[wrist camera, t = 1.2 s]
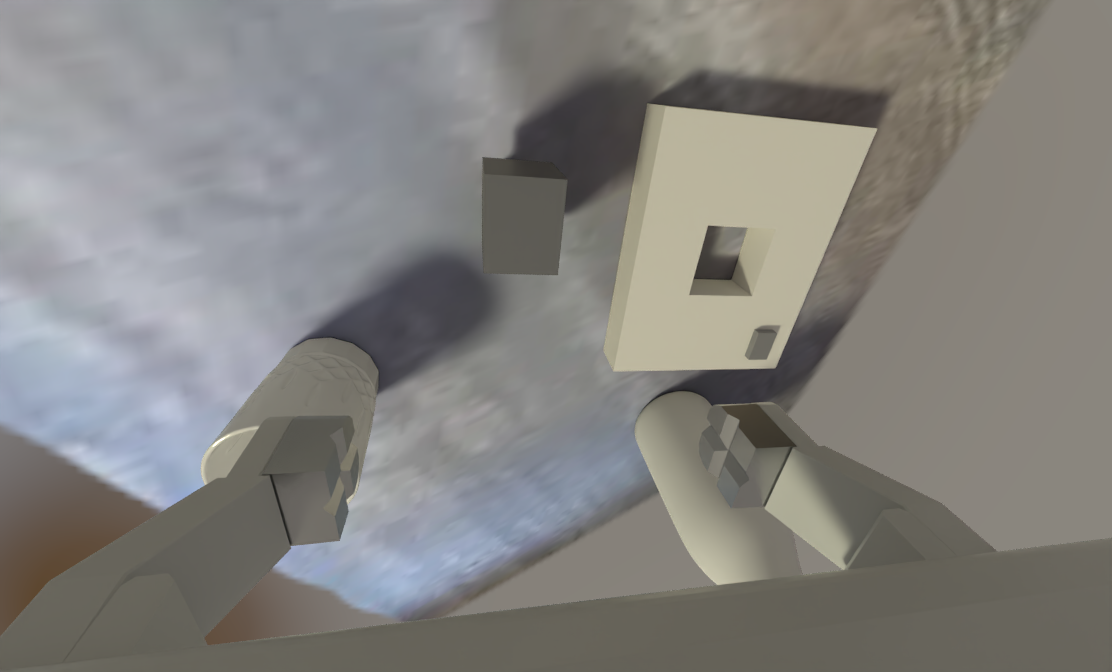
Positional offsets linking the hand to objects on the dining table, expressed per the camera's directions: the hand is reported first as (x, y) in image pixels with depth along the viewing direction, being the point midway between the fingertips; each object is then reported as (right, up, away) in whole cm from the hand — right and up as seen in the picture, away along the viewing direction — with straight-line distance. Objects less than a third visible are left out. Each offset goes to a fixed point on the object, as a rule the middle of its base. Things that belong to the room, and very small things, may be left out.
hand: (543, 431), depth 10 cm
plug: (-3, +11, +18) cm, 22 cm away
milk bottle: (+11, -6, +31) cm, 34 cm away
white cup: (-17, -1, +23) cm, 28 cm away
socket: (+12, +9, +23) cm, 27 cm away
